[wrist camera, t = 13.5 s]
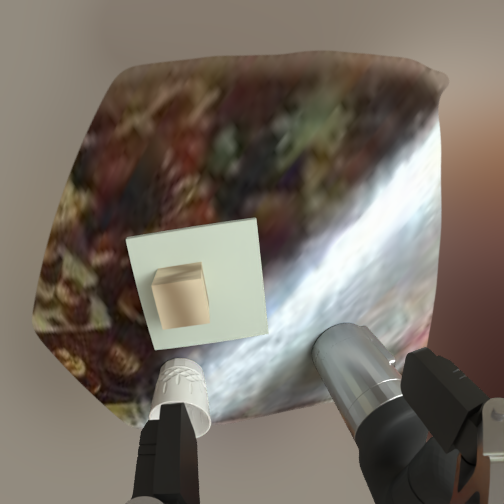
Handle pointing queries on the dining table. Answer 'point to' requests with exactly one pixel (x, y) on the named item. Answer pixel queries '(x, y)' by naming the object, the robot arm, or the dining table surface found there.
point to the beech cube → (181, 296)
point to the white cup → (183, 392)
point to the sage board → (216, 279)
